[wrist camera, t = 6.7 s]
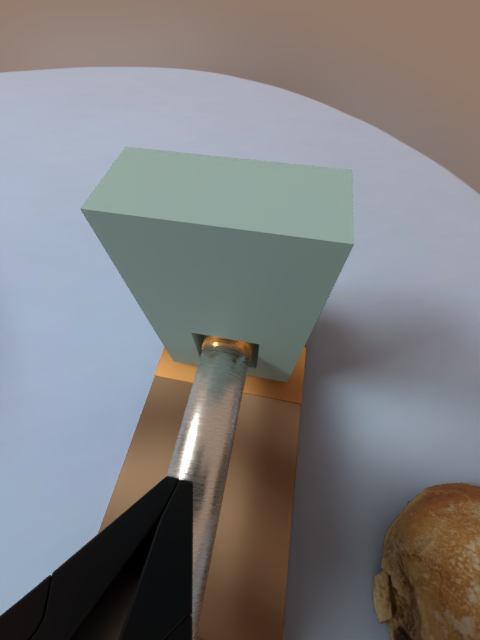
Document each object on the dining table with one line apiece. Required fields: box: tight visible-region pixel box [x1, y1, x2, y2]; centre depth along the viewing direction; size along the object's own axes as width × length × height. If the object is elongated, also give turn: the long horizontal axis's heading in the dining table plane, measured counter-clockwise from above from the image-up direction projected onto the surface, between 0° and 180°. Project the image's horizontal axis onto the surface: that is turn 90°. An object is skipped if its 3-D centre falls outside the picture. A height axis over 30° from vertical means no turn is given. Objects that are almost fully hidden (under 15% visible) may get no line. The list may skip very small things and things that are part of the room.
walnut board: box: [98, 344, 306, 640], centre depth 15 cm, size 19×9×1 cm, turn 169°
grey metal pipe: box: [166, 335, 254, 640], centre depth 13 cm, size 18×3×5 cm, turn 169°
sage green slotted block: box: [80, 147, 354, 382], centre depth 12 cm, size 3×7×11 cm, turn 79°
